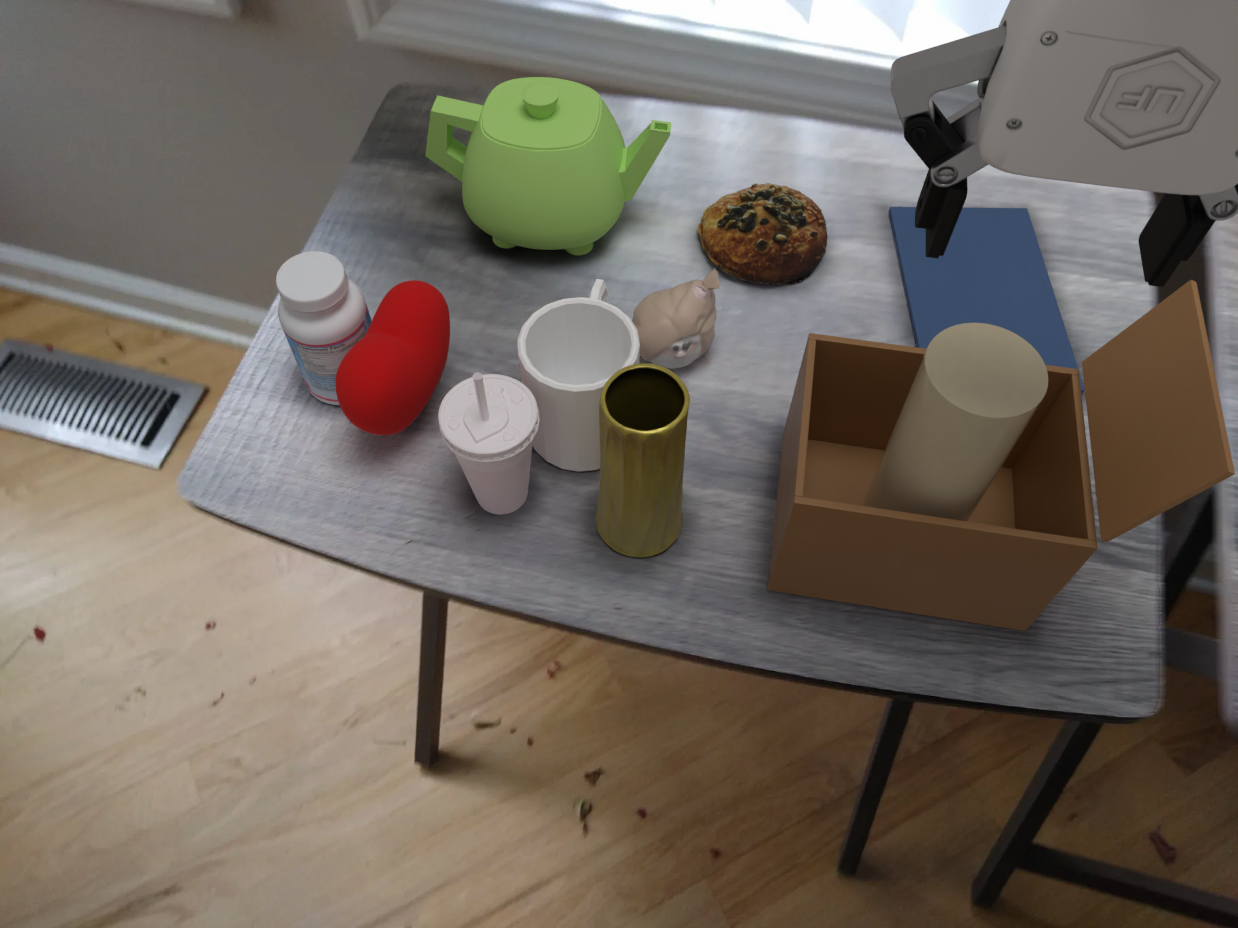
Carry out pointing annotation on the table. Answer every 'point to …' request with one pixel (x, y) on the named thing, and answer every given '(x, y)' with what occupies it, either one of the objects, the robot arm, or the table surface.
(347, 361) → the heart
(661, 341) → the garlic bulb
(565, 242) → the teapot
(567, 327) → the mug
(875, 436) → the carton
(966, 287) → the mat
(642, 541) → the vase
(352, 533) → the table surface
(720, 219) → the bread roll
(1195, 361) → the flap
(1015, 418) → the beige cylinder rod
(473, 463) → the smoothie
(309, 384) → the pill bottle
